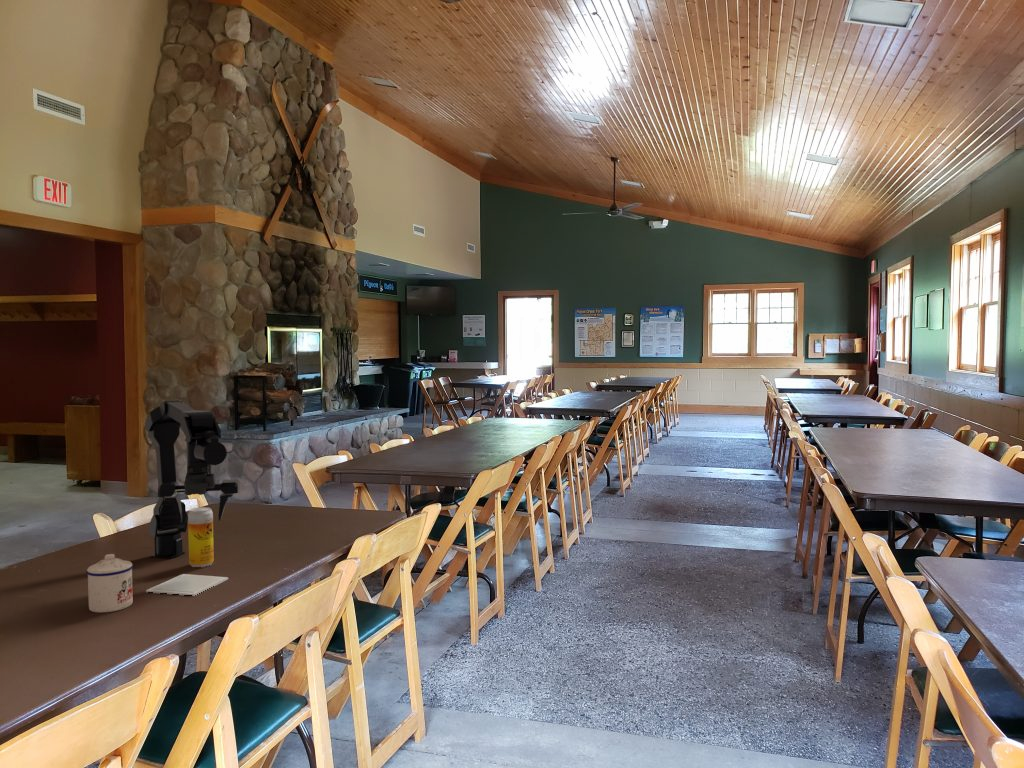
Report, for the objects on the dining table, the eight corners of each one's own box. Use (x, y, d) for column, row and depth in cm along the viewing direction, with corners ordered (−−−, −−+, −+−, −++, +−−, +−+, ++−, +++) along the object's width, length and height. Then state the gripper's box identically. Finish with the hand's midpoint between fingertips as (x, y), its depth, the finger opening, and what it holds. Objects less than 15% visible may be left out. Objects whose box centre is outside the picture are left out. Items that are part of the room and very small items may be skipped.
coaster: (146, 592, 172) (146, 589, 172) (182, 575, 185) (182, 573, 185) (194, 596, 169) (194, 593, 169) (228, 579, 182) (228, 576, 182)
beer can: (204, 568, 191) (203, 512, 190) (184, 567, 192) (182, 511, 192) (218, 562, 197) (217, 507, 196) (198, 561, 198) (197, 506, 197)
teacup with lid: (125, 612, 159) (124, 559, 159) (80, 614, 158) (79, 561, 157) (143, 594, 171) (142, 545, 171) (101, 596, 169) (100, 547, 169)
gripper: (152, 467, 175) (153, 531, 176) (234, 464, 180) (236, 526, 181) (161, 460, 186) (163, 521, 187) (239, 457, 191) (240, 516, 192)
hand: (200, 521), depth 186 cm, fingers open, 9 cm apart
